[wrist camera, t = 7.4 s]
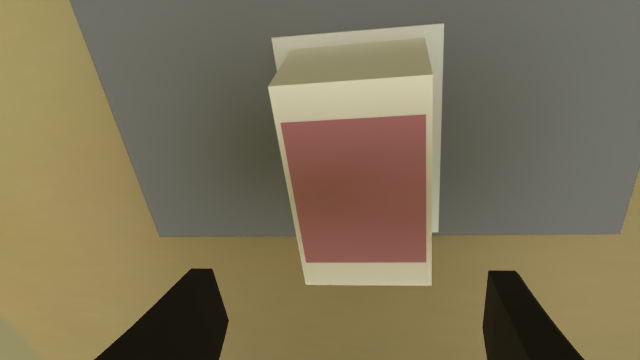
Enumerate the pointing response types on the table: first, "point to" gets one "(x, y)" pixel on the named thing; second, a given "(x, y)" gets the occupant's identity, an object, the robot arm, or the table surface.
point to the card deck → (359, 160)
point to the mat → (448, 106)
